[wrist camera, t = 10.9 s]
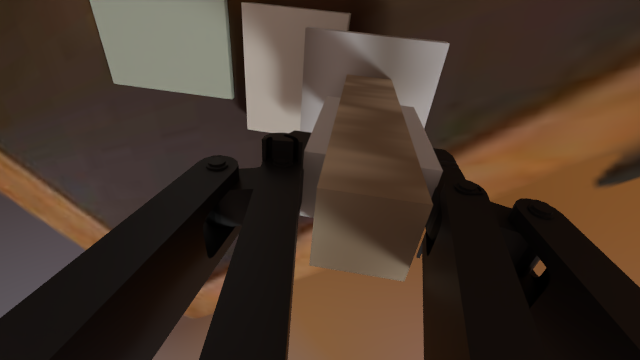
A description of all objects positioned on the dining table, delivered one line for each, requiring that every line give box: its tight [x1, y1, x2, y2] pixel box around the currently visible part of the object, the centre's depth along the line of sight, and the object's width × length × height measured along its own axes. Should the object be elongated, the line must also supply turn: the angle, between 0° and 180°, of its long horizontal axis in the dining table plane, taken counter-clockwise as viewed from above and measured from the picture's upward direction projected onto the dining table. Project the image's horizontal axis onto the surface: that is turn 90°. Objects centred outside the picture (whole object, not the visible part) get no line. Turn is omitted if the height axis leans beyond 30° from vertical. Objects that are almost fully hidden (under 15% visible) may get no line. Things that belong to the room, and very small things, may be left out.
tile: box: [241, 2, 351, 133], centre depth 25 cm, size 3×10×8 cm
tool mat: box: [90, 0, 234, 99], centre depth 24 cm, size 12×12×1 cm
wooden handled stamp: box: [300, 27, 449, 281], centre depth 14 cm, size 9×8×15 cm
